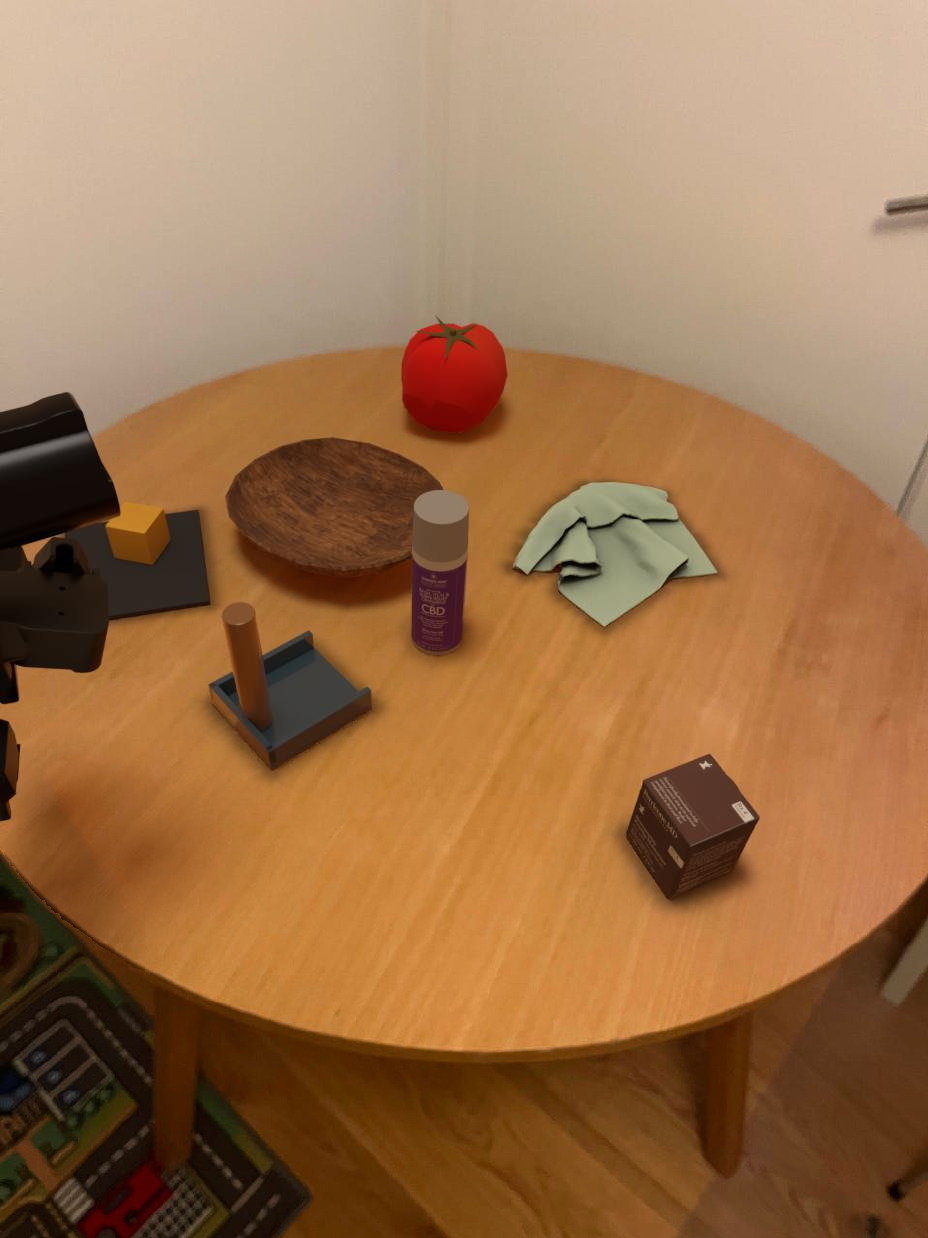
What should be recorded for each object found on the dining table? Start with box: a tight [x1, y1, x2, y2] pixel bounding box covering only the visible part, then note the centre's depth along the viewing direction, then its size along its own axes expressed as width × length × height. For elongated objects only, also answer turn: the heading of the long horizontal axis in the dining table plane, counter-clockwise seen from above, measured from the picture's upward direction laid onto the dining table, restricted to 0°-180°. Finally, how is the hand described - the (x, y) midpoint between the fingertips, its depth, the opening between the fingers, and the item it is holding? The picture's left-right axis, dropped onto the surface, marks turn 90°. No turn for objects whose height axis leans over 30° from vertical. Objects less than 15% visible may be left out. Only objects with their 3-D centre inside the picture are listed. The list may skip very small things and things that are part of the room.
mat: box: [64, 509, 211, 621], centre depth 89 cm, size 13×14×1 cm
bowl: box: [224, 436, 444, 578], centre depth 92 cm, size 20×22×5 cm
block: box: [105, 500, 171, 565], centre depth 89 cm, size 4×4×4 cm
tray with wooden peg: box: [207, 601, 373, 771], centre depth 73 cm, size 10×9×13 cm
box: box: [625, 753, 761, 899], centre depth 66 cm, size 6×6×7 cm
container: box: [411, 489, 470, 656], centre depth 79 cm, size 5×5×15 cm
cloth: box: [512, 481, 718, 628], centre depth 93 cm, size 20×22×2 cm
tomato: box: [400, 315, 508, 434], centre depth 106 cm, size 12×13×12 cm
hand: (6, 757), depth 57 cm, fingers open, 9 cm apart
